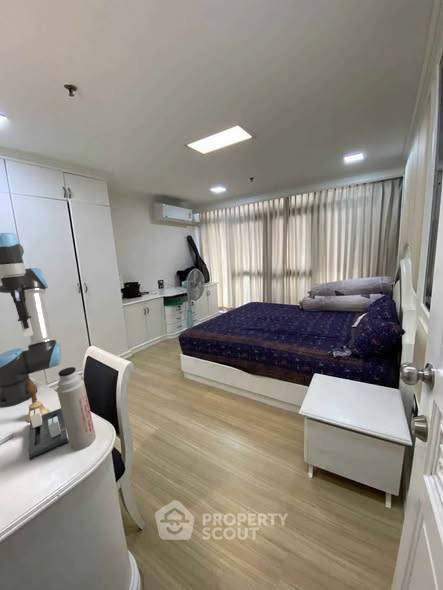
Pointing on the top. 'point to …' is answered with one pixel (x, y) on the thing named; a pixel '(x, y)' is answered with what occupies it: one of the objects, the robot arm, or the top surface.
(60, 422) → the console
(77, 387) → the thermos bottle
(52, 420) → the fader
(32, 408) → the hand bell
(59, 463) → the top surface
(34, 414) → the fader
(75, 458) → the top surface
